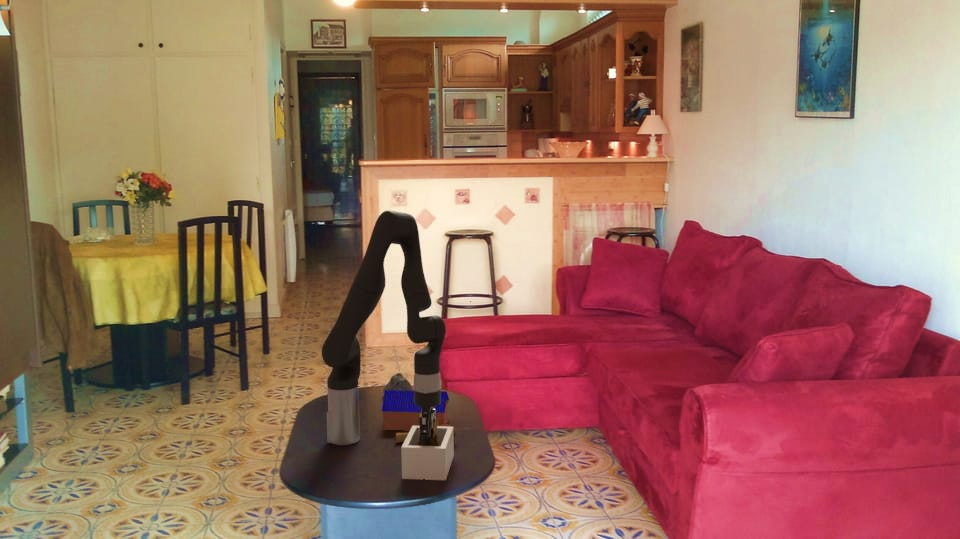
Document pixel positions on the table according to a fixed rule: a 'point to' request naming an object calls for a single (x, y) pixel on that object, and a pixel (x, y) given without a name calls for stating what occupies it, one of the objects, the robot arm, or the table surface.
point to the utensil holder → (433, 436)
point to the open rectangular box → (427, 455)
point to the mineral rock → (398, 383)
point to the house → (408, 410)
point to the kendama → (402, 436)
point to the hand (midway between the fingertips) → (428, 444)
